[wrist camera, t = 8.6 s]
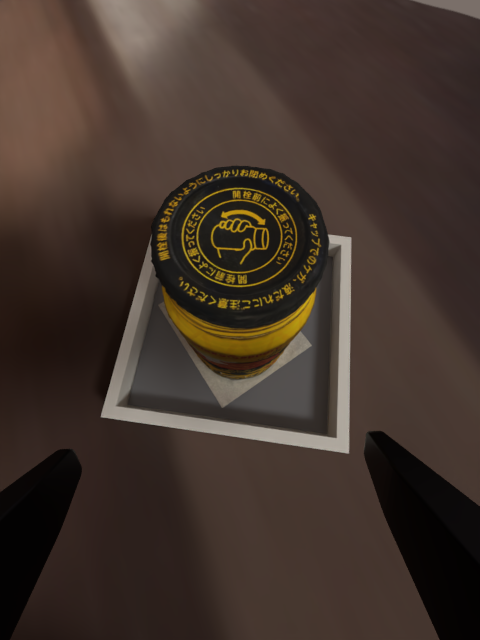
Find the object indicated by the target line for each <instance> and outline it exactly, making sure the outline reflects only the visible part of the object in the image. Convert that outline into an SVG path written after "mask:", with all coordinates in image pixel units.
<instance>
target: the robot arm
mask: <svg viewBox="0 0 480 640" xmlns="http://www.w3.org/2000/svg"><path fill="white" fill-rule="evenodd" d="M364 456H365V460H366V463H367V466H368V469H369V472H370V475H371V478H372V481H373V484H374V487H375V490H376V493H377V496H378V499H379V502H380V505H381V508H382V510H383V513H384V516H385V518H386V521H387V523H388V525H389V528H390V530H391V532H392V534H393V537H394V539H395V541H396V543H397V545H398V548H399V550H400V552H401V554H402V557H403V559H404V561H405V563H406V566H407V568H408V570H409V572H410V575H411V577H412V579H413V581H414V583H415V586H416V588H417V590H418V592H419V595H420V597H421V599H422V601H423V604H424V606H425V608H426V610H427V612H428V615H429V617H430V619H431V621H432V624H433V626H434V628H435V630H436V633H437V635H438V637H439V639H440V640H480V506H478V505H477V504H476V503H475V502H473V501H472V500H471V499H469V498H468V497H467V496H466V495H464V494H463V493H462V492H460V491H459V490H458V489H456V488H455V487H454V486H453V485H451V484H450V483H449V482H447V481H446V480H445V479H444V478H442V477H441V476H440V475H438V474H437V473H436V472H434V471H433V470H432V469H431V468H429V467H428V466H427V465H425V464H424V463H423V462H422V461H420V460H419V459H418V458H416V457H415V456H414V455H412V454H411V453H410V452H409V451H407V450H406V449H405V448H403V447H402V446H401V445H400V444H398V443H397V442H396V441H394V440H393V439H392V438H390V437H389V436H388V435H387V434H385V433H384V432H382V431H369V432H367V434H366V439H365V447H364ZM81 473H82V467H81V464H80V462H79V460H78V458H77V455H76V453H75V451H74V450H73V449H60V450H58V451H56V452H54V453H53V454H52V455H50V456H49V457H48V458H46V459H45V460H44V461H42V462H41V463H39V464H38V465H37V466H35V467H34V468H33V469H31V470H30V471H29V472H27V473H26V474H24V475H23V476H22V477H20V478H19V479H18V480H16V481H15V482H14V483H12V484H11V485H9V486H8V487H7V488H5V489H4V490H3V491H1V492H0V640H10V638H11V636H12V634H13V632H14V630H15V627H16V625H17V623H18V621H19V619H20V617H21V614H22V612H23V610H24V608H25V606H26V604H27V602H28V599H29V597H30V595H31V593H32V591H33V589H34V587H35V584H36V582H37V580H38V578H39V576H40V574H41V572H42V569H43V567H44V565H45V563H46V561H47V559H48V556H49V554H50V552H51V550H52V548H53V546H54V544H55V541H56V539H57V537H58V535H59V532H60V530H61V528H62V525H63V523H64V520H65V517H66V515H67V512H68V509H69V507H70V504H71V501H72V498H73V496H74V493H75V490H76V488H77V485H78V482H79V479H80V477H81Z"/></svg>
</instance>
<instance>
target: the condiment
mask: <svg viewBox="0 0 480 640" xmlns="http://www.w3.org/2000/svg"><path fill="white" fill-rule="evenodd" d="M151 229H152V237H151V243H150V245H151V257H152V260H151V262H152V264H153V265H154V268H155V272H156V275H155V276H156V277H157V278H158V279H159V281H160V283H161V285H162V293H163V297H164V302H162V303H161V304H159V305H158V306H159V307H160V309H161V310H162V312H163V314H164V315H165V317H166V318H167V320H168V322H169V323H170V325H171V327H172V328H173V330H174V331H175V333H176V334H177V336H178V338H179V339H180V341H181V343H182V344H183V346H184V347H185V349H186V351H187V352H188V354H189V355H190V357H191V359H192V360H193V362H194V363H195V365H196V367H197V368H198V370H199V371H200V373H201V375H202V376H203V378H204V380H205V381H206V383H207V384H208V386H209V388H210V389H211V391H212V392H213V394H214V396H215V397H216V399H217V400H218V402H219V404H220V405H221V407H222V408H223V407H225V406H226V405H228V404H229V403H230V402H232V401H233V400H235V399H236V398H238V397H239V396H240V395H242V394H243V393H245V392H246V391H248V390H249V389H251V388H252V387H253V386H255V385H256V384H258V383H259V382H261V381H262V380H263V379H265V378H266V377H268V376H269V375H271V374H272V373H273V372H275V371H276V370H278V369H279V368H281V367H282V366H284V365H285V364H286V363H288V362H289V361H291V360H292V359H293V358H295V357H296V356H298V355H299V354H301V353H302V352H304V351H305V350H306V349H308V348H309V347H311V346H312V345H311V344H310V342H309V341H308V340H307V339H306V337H305V336H304V335H303V334H302V332H301V330H302V328H303V327H304V325H305V324H306V322H307V320H308V318H309V316H310V314H311V311H312V309H313V306H314V303H315V297H316V287H317V286H318V284H319V282H320V280H321V279H322V276H323V272H324V271H325V269H326V267H327V259H328V252H329V250H328V248H329V243H330V242H329V237H328V233H327V229H326V226H325V223H324V220H323V217H322V213H321V210H320V208H319V207H318V205H317V203H316V201H315V200H314V199H313V198H312V197H311V196H310V195H309V194H308V193H307V192H306V191H305V190H304V189H303V188H302V187H301V186H300V185H299V184H298V183H297V182H295V181H294V180H292V179H290V178H289V177H287V176H286V175H285V174H283V173H279V172H276V171H274V170H271V169H264V168H258V167H249V166H231V167H230V166H229V167H219V168H214V169H212V170H209V171H207V172H203V173H201V174H199V175H198V176H196V177H194V178H191V179H188V180H186V181H185V182H184V183H183V184H182V185H180V186H179V187H178V188H177V189H175V190H174V191H172V192H171V193H170V194H169V196H168V197H166V199H165V200H164V202H163V204H162V206H161V208H160V209H159V211H158V213H157V215H156V217H155V218H154V221H153V223H152V226H151Z"/></svg>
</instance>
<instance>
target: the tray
mask: <svg viewBox="0 0 480 640" xmlns="http://www.w3.org/2000/svg"><path fill="white" fill-rule="evenodd" d="M151 237H152V235H151ZM328 237H329V242H330V243H329V248H328V250H329V252H328V259H327V267H326V269H325V271H324V272H323V276H322V279H321V280H320V282H319V284H318V286H317V287H316V297H315V303H314V306H313V309H312V311H311V314H310V316H309V318H308V320H307V322H306V324H305V325H304V327H303V328H302V330H301V332H302V334H303V335H304V336H305V337H306V339H307V340H308V341H309V342H310V344H311V345H312V346H311V347H309V348H308V349H306V350H305V351H304V352H302V353H301V354H299V355H298V356H296V357H295V358H293V359H292V360H291V361H289V362H288V363H286V364H285V365H284V366H282V367H281V368H279V369H278V370H276V371H275V372H273V373H272V374H271V375H269V376H268V377H266V378H265V379H263V380H262V381H261V382H259V383H258V384H256V385H255V386H253V387H252V388H251V389H249V390H248V391H246V392H245V393H243V394H242V395H240V396H239V397H238V398H236V399H235V400H233V401H232V402H230V403H229V404H228V405H226V406H225V407H223V408H222V407H221V405H220V404H219V402H218V400H217V399H216V397H215V396H214V394H213V392H212V391H211V389H210V388H209V386H208V384H207V383H206V381H205V380H204V378H203V376H202V375H201V373H200V371H199V370H198V368H197V367H196V365H195V363H194V362H193V360H192V359H191V357H190V355H189V354H188V352H187V351H186V349H185V347H184V346H183V344H182V343H181V341H180V339H179V338H178V336H177V334H176V333H175V331H174V330H173V328H172V327H171V325H170V323H169V322H168V320H167V318H166V317H165V315H164V314H163V312H162V310H161V309H160V307H159V306H158V305H159V304H161V303H162V302H164V297H163V293H162V285H161V283H160V281H159V279H158V278H157V277H156V276H155V275H156V272H155V268H154V265H153V264H152V262H151V260H152V257H151V245H150V243H151V238H150V242H149V245H148V249H147V253H146V256H145V260H144V263H143V267H142V270H141V274H140V278H139V281H138V285H137V288H136V292H135V296H134V299H133V303H132V306H131V310H130V314H129V317H128V321H127V324H126V328H125V332H124V335H123V339H122V342H121V346H120V349H119V353H118V357H117V360H116V364H115V367H114V371H113V375H112V378H111V382H110V385H109V389H108V393H107V396H106V400H105V403H104V407H103V410H102V414H101V417H104V418H111V419H118V420H125V421H132V422H138V423H145V424H152V425H159V426H166V427H172V428H179V429H186V430H193V431H200V432H206V433H213V434H220V435H227V436H234V437H241V438H247V439H254V440H261V441H268V442H275V443H281V444H288V445H295V446H302V447H309V448H315V449H322V450H329V451H336V452H343V453H349V394H350V303H351V237H343V236H335V235H328Z"/></svg>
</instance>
